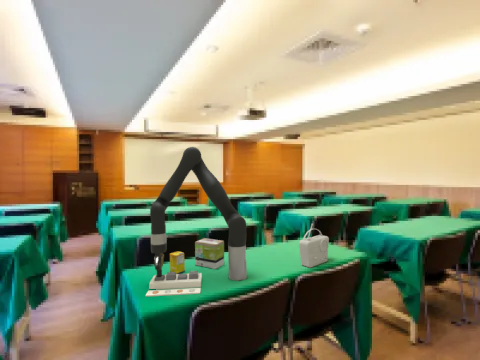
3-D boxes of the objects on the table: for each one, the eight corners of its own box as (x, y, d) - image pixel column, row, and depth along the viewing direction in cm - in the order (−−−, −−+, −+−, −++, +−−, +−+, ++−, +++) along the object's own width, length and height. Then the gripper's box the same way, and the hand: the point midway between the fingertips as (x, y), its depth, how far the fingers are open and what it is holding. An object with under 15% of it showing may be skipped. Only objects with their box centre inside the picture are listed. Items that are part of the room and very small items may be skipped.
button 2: (187, 279, 140) (187, 273, 140) (186, 282, 136) (186, 276, 136) (178, 279, 140) (178, 274, 140) (177, 283, 136) (177, 277, 135)
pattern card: (200, 288, 131) (200, 287, 131) (200, 293, 126) (200, 292, 126) (148, 291, 129) (148, 290, 129) (145, 296, 124) (145, 295, 124)
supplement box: (178, 269, 158) (177, 250, 158) (185, 271, 154) (184, 252, 154) (169, 272, 153) (169, 253, 153) (176, 275, 150) (176, 255, 149)
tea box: (194, 265, 164) (194, 241, 164) (204, 260, 173) (204, 237, 173) (215, 269, 157) (215, 244, 157) (224, 264, 166) (224, 240, 166)
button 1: (198, 276, 141) (198, 270, 140) (197, 279, 136) (197, 273, 136) (189, 277, 140) (189, 271, 140) (189, 280, 136) (188, 274, 136)
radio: (310, 269, 154) (309, 225, 154) (298, 266, 161) (298, 223, 160) (331, 261, 168) (331, 221, 167) (320, 258, 175) (319, 219, 174)
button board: (202, 278, 144) (201, 272, 144) (200, 287, 133) (200, 281, 133) (154, 280, 142) (154, 275, 142) (149, 289, 131) (149, 283, 131)
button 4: (164, 280, 139) (164, 274, 139) (163, 283, 135) (163, 277, 135) (156, 280, 139) (156, 275, 139) (154, 284, 135) (154, 278, 134)
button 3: (176, 277, 140) (175, 271, 139) (174, 280, 135) (174, 274, 135) (167, 278, 139) (167, 272, 139) (166, 281, 135) (166, 275, 135)
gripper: (163, 245, 130) (164, 281, 130) (168, 238, 143) (169, 271, 144) (147, 246, 129) (148, 282, 130) (154, 239, 142) (154, 272, 143)
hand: (159, 276), depth 137 cm, fingers closed
